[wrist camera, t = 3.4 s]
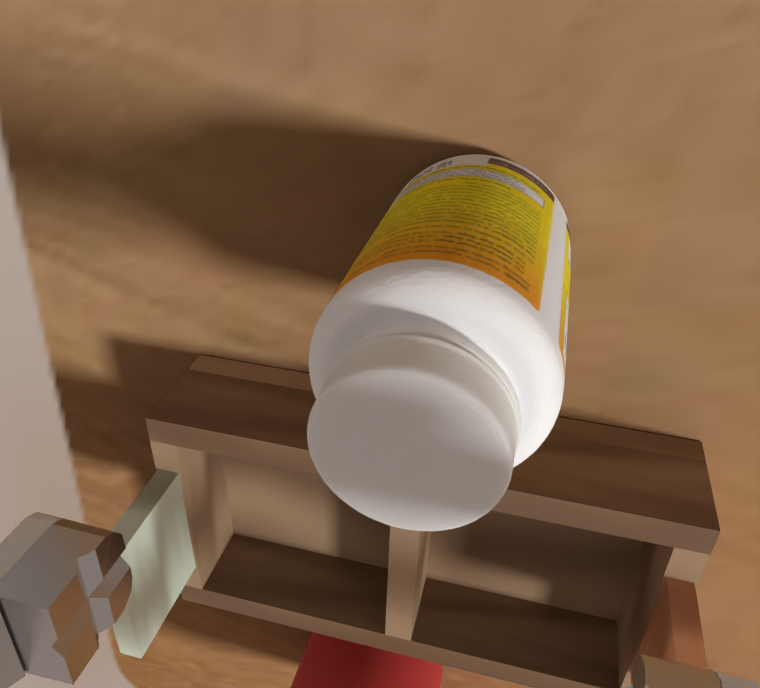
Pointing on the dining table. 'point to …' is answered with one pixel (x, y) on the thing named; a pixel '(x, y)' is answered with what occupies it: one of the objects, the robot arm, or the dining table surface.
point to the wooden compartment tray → (421, 542)
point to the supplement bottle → (444, 347)
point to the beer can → (361, 667)
